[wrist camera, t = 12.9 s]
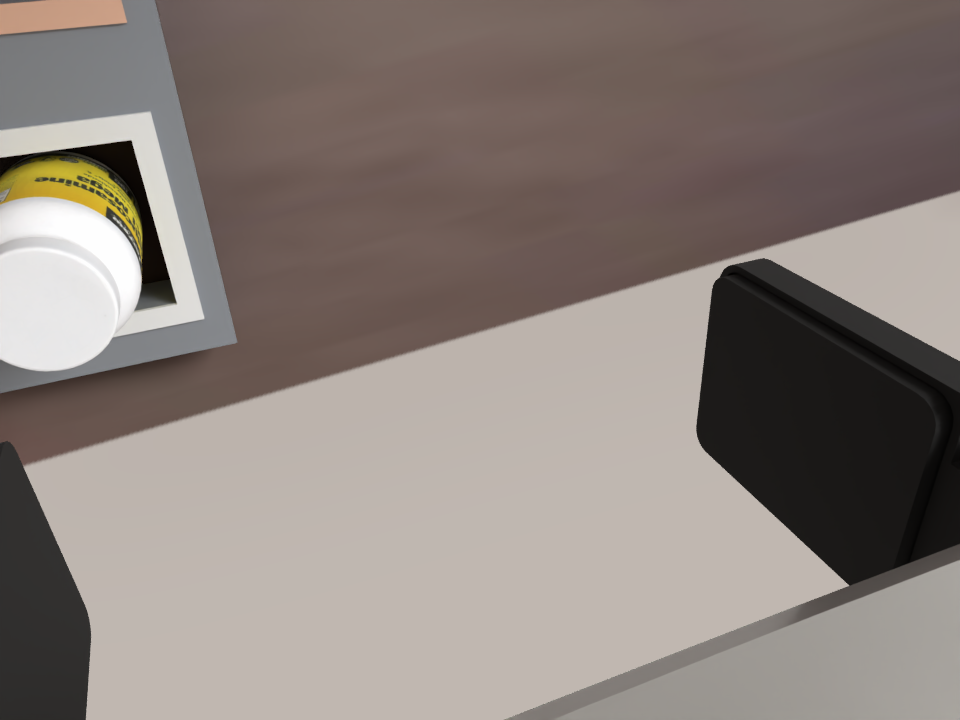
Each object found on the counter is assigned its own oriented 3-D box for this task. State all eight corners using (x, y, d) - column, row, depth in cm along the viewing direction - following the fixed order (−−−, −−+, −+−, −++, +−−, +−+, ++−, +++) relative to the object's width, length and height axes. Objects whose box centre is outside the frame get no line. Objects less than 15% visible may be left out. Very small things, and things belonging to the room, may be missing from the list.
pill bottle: (170, 208, 37) (181, 299, 28) (88, 301, 37) (72, 421, 28) (46, 116, 33) (12, 187, 24) (-43, 222, 34) (-107, 330, 25)
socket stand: (73, -338, 27) (66, -365, 25) (231, 317, 40) (237, 344, 38) (-349, -352, 24) (-409, -385, 21) (-25, 369, 37) (-37, 403, 34)
